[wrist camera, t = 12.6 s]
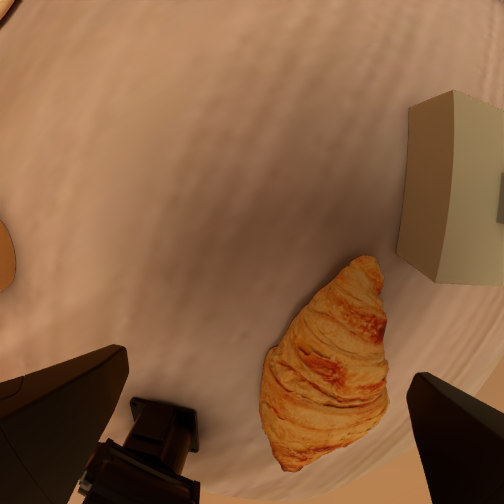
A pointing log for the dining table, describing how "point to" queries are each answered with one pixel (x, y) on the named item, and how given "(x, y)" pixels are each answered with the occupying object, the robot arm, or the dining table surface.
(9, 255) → the coffee cup
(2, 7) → the flower in vase
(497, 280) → the cover
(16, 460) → the robot arm
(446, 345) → the dining table surface
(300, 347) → the croissant
